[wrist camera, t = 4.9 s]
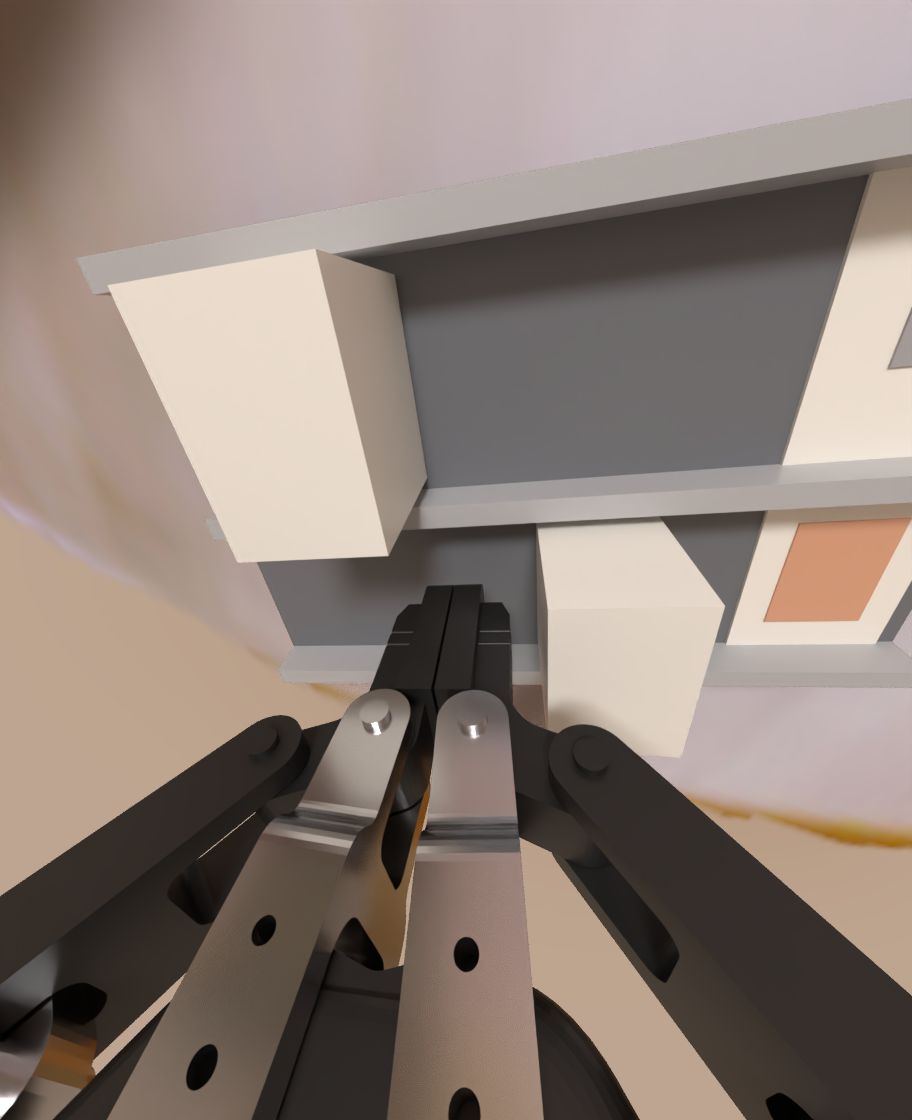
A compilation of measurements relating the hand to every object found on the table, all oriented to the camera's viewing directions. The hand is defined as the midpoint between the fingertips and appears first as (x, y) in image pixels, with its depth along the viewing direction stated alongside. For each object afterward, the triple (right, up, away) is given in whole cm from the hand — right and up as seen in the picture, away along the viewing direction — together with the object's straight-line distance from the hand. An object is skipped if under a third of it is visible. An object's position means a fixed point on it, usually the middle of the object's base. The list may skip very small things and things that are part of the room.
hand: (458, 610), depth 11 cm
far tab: (+4, +1, +1) cm, 4 cm away
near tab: (-3, +5, -1) cm, 6 cm away
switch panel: (+3, +4, +1) cm, 5 cm away
